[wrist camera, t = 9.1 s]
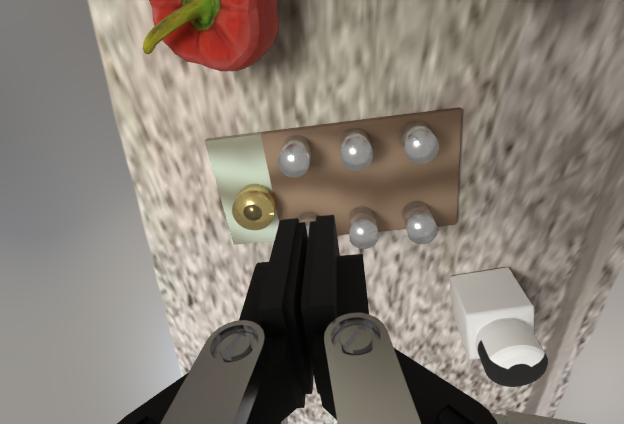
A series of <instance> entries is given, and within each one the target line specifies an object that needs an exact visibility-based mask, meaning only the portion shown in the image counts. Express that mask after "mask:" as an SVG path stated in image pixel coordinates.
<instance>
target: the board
mask: <svg viewBox="0 0 624 424" xmlns="http://www.w3.org/2000/svg"><path fill="white" fill-rule="evenodd" d="M414 120H419V121H422V122H424V123H425V124H426V125H427V126H428V127H429V129H430V130H431V131H432V133H433V134H434V135H435V137H436V138H437V140H438V142H439V151H438V153H437V155H436V156H435V158H434V159H432V160H431V161H429V162H427V163H424V164H418V163H414V162H412V161H411V160H410V159H409V158H408V157H407V155H406V153H405V150H404V148H403V146H402V144H401V142H400V138H399V135H400V131H401V129H402V127H403V126H404V125H405V124H406V123H408V122H410V121H414ZM351 128H360V129H362V130H364V131H365V132H366V133H367V134H368V136H369V139H370V143H371V147H372V152H373V158H372V161H371V163H370V164H369V166H368V167H366V168H365V169H363V170H359V171H353V170H350V169H348V168H346V167H345V166H344V165H343V163H342V161H341V152H340V139H341V136H342V135H343V133H344V132H345V131H347V130H348V129H351ZM460 133H461V109H460V108H452V109H444V110H436V111H428V112H420V113H411V114H403V115H395V116H387V117H379V118H371V119H363V120H355V121H347V122H339V123H331V124H323V125H314V126H306V127H298V128H290V129H282V130H274V131H266V132H258V133H250V134H242V135H234V136H225V137H217V138H209V139H206V140H205V144H206V148H207V151H208V155H209V158H210V162H211V165H212V169H213V172H214V176H215V179H216V183H217V186H218V190H219V194H220V197H221V201H222V204H223V208H224V211H225V215H226V218H227V222H228V225H229V229H230V232H231V236H232V240H233V243H234V244H245V243H257V242H268V241H275V237H276V233H277V229H278V225H279V221H280V220H283V219H293V218H298V216H299V215H300V214H302V213H304V212H314V213H316V214H318V215H319V216H324V215H334V216H335V223H336V231H337V235H345V234H349V220H348V217H349V214H350V212H351V211H352V210H353V209H354V208H356V207H360V206H365V207H368V208H370V209H371V210H372V211H373V212H374V214H375V219H376V225H377V230H378V231H389V230H400V229H406V227H405V224H404V220H403V217H402V211H403V208H404V207H405V206H406V205H407V204H408V203H410V202H413V201H421V202H424V203H425V204H426V205H427V206H428V208H429V210H430V212H431V214H432V216H433V219H434V221H435V223H436V225H437V226H444V225H456V223H457V200H458V178H459V155H460ZM292 135H301V136H303V137H305V138H306V139H308V141H309V142H310V144H311V149H312V150H311V157H310V163H309V168H308V170H307V172H306V173H305V174H304V175H302V176H300V177H295V178H294V177H288V176H286V175H285V174H283V173H282V172H281V170H280V169H279V166H278V158H279V155H280V152H281V150H282V147H283V144H284V142H285V140H286V139H287V138H288V137H290V136H292ZM249 184H261V185H264V186H266V187H268V188H269V189H270V190H271V191H272V192H273V193H274V195H275V197H276V200H277V206H276V210H275V213H274V217H273V220H272V222H271V223H270V225H269V226H267V227H266V228H264V229H261V230H248V229H245V228H243V227H242V226H240V225H239V224H238V223H237V222H236V221H235V219H234V217H233V214H232V206H233V203H234V201H235V199H236V197H237V195H238V193H239V192H240V190H241V189H242V188H243V187H245V186H247V185H249Z"/></svg>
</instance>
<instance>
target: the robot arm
mask: <svg viewBox="0 0 624 424" xmlns="http://www.w3.org/2000/svg"><path fill="white" fill-rule="evenodd" d="M313 375H314V378H315V383H316V388H317V392H318V394H320V396H321V401H322V406H323V408H324V409H326V410H327V411H328V412H329V413H330V414H331V415H332V416H333V417H334V418H335V419H336V420H337V422H338V424H585V423H578V422H573V421H567V420H561V419H554V418H549V417H543V416H537V415H531V414H526V413H520V412H514V411H508V410H506V415H500V414H494V413H490V411H489V410H488V409H486V408H485V407H484V406H483V405H482V404H480V403H479V402H478V401H476V400H475V399H473V398H471V397H470V396H468V395H467V394H465V393H464V392H462V391H461V390H459V389H457V388H456V387H454V386H453V385H451V384H450V383H448V382H446V381H445V380H443V379H442V378H440V377H439V376H437V375H436V374H434V373H432V372H431V371H429V370H428V369H426V368H425V367H423V366H421V365H420V364H418V363H417V362H415V361H414V360H412V359H411V358H409V357H407V356H406V355H404V354H403V353H401V352H400V351H398V350H396V349H395V348H393V345H392V342H391V340H390V337H389V334H388V331H387V329H386V327H385V326H384V324H383V323H382V322H381V321H380V320H379V319H377V318H376V317H374V316H371V315H369V309H368V299H367V290H366V281H365V272H364V263H363V254H356V255H344V256H340V254H339V247H338V239H337V231H336V223H335V216H334V215H324V216H316V221H310V225H309V234H307V228H306V224H305V222H299V219H298V218H293V219H283V220H280V221H279V225H278V229H277V233H276V237H275V241H274V245H273V249H272V253H271V257H270V261H269V262H261V263H257V264H256V266H255V269H254V272H253V276H252V279H251V282H250V286H249V289H248V292H247V296H246V299H245V302H244V306H243V309H242V312H241V316H240V319H239V321H234V322H231V323H227V324H225V325H224V326H222V327H220V328H218V329H217V330H216V331H215V332H213V333H212V334H211V336H210V337H209V338H208V340H207V341H206V343H205V345H204V346H203V348H202V350H201V352H200V353H199V355H198V357H197V359H196V361H195V362H194V364H193V366H192V368H191V370H190V371H189V373H187V374H186V375H184V376H183V377H181V378H180V379H179V380H177V381H176V382H175V383H173V384H171V385H170V386H169V387H167V388H166V389H164V390H163V391H161V392H160V393H158V394H157V395H156V396H154V397H153V398H151V399H150V400H148V401H147V402H146V403H144V404H143V405H141V406H140V407H138V408H137V409H136V410H134V411H133V412H131V413H130V414H128V415H127V416H126V417H124V418H123V419H122V420H121V421H120V422H119V423H117V424H288V420H287V417H288V416H289V415H290V414H291V413H292V412H293V411H294V410H295V409H297V408H304V406H305V394H312V391H313Z"/></svg>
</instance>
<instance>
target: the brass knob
mask: <svg viewBox="0 0 624 424" xmlns="http://www.w3.org/2000/svg"><path fill="white" fill-rule="evenodd" d="M276 206H277V200H276V197H275V195H274V193H273V192H272V191H271V190H270V189H269V188H268V187H266V186H264V185H261V184H249V185H247V186H245V187H243V188H242V189H241V190H240V192H239V193H238V195H237V197H236V199H235V201H234V203H233V206H232V214H233V217H234V219H235V221H236V222H237V223H238V224H239V225H240V226H242V227H243V228H245V229H248V230H261V229H264V228H266V227H267V226H269V225H270V223H271V222H272V220H273V217H274V213H275V210H276Z"/></svg>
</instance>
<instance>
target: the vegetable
mask: <svg viewBox="0 0 624 424" xmlns="http://www.w3.org/2000/svg"><path fill="white" fill-rule="evenodd" d="M149 1H150V3H151V6H152V11H153V22H154V25H155V27H154V28H153V29H152V30H151V31H150V32H149V34H148V35H147V36H146V38H145V41H144V45H143V50H144V52H145V54H150V53H151V52H152V51H153V49H154V48H155V46H156V45H157V44H158V43H159V42H160V41H161V40H163V42H164V43H165V44H166V45H168V46H169V47H170V48H171V50H172V51H173V52H174V53H175V54H176V55H178V56H179V57H181V58H182V59H184V60H185V61H187V62H192V63H197V64H201V65H204V66H206V67H209V68H211V69H215V70H219V71H238V70H241V69H244V68H246V67H248V66H250V65H251V64H253V63H254V62H256V61H257V60H258V59H260V58H261V57H262V56H263V55H264V54H265V53H266V52H267V51H268V50H269V48H270V47H271V46H272V44H273V42H274V40H275V38H276V35H277V33H278V27H279V18H278V12H277V0H149Z"/></svg>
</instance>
